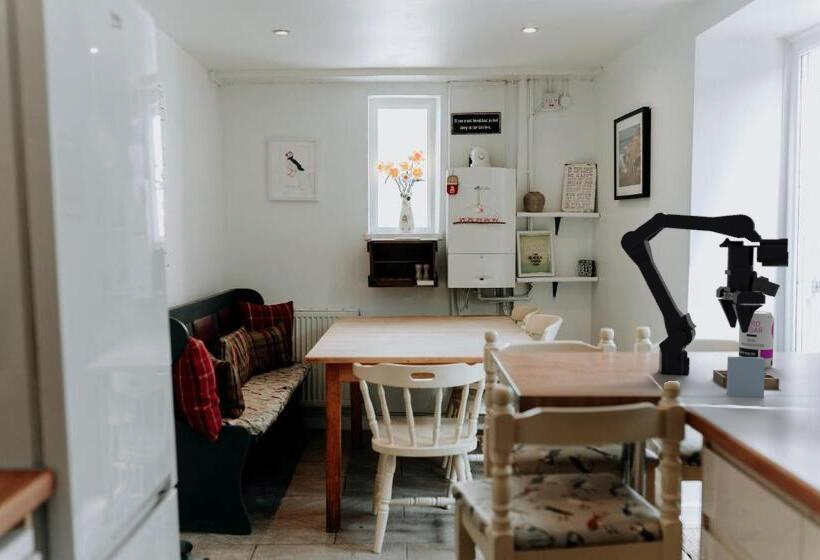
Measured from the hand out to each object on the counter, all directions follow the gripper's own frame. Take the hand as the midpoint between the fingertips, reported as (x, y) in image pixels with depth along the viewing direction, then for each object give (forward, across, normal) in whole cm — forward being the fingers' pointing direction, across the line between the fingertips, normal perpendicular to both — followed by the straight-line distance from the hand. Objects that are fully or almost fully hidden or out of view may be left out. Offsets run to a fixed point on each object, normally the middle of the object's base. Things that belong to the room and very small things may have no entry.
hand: (738, 330), depth 165 cm
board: (+13, -19, +4) cm, 23 cm away
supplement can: (+13, +19, -10) cm, 25 cm away
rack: (+12, -6, 0) cm, 14 cm away
